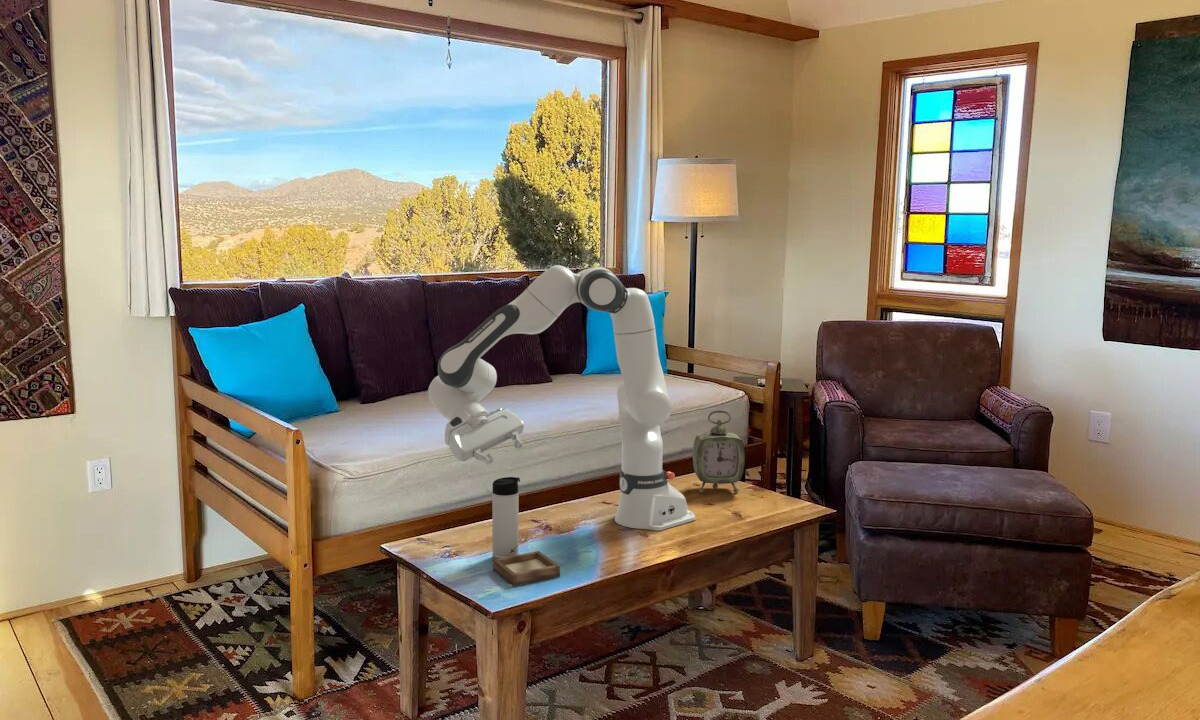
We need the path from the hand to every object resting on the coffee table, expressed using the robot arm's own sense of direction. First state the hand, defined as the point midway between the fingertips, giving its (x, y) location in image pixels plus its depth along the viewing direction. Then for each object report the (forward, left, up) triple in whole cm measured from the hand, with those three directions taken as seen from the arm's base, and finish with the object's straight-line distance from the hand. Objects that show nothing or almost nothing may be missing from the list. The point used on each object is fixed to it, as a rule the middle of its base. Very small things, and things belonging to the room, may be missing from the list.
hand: (505, 454), depth 232 cm
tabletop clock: (-76, -12, -23) cm, 80 cm away
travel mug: (+4, +9, -23) cm, 26 cm away
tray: (+4, +20, -23) cm, 31 cm away
